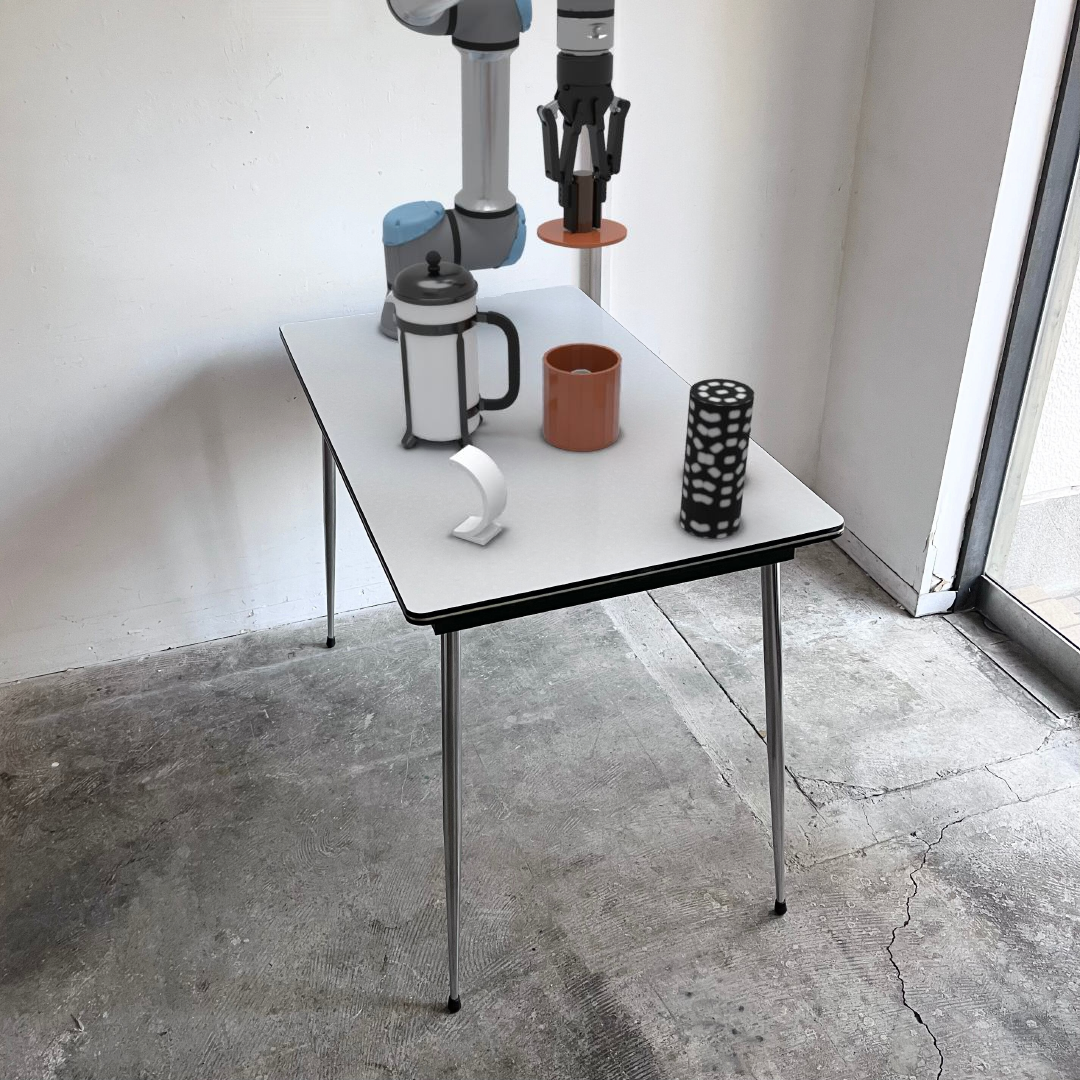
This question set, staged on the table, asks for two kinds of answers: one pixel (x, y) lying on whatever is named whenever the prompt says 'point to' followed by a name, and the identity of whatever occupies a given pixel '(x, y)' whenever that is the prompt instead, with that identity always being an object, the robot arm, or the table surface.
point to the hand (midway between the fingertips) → (581, 227)
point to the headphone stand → (482, 494)
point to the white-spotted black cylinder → (715, 457)
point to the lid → (583, 221)
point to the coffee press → (445, 351)
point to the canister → (581, 396)
